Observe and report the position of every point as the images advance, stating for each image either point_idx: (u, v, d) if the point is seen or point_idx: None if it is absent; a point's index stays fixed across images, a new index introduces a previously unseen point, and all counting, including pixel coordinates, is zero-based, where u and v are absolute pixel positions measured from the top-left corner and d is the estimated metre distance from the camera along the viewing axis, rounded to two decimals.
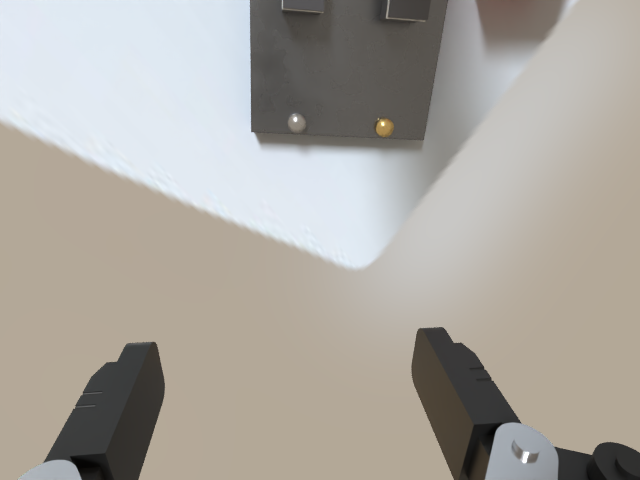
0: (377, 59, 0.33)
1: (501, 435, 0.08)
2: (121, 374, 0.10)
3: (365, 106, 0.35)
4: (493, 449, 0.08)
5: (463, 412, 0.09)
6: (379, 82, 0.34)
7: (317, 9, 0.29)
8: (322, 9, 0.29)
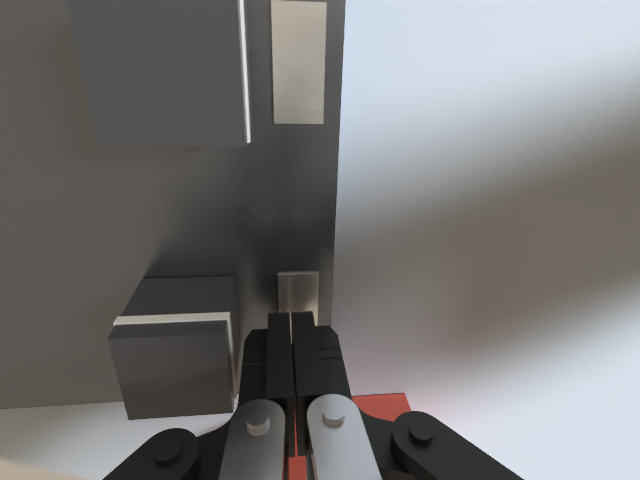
0: (76, 285, 0.13)
1: (311, 416, 0.09)
2: (276, 337, 0.11)
3: None
4: (311, 435, 0.08)
5: (296, 386, 0.10)
6: (20, 298, 0.13)
7: (96, 122, 0.08)
8: (102, 141, 0.08)
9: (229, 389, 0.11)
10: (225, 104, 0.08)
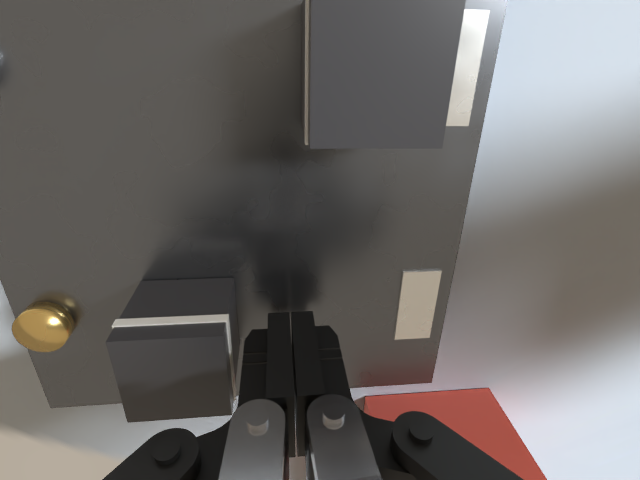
0: None
1: (311, 416, 0.09)
2: (276, 337, 0.11)
3: (88, 270, 0.12)
4: (311, 435, 0.08)
5: (296, 386, 0.10)
6: None
7: (312, 126, 0.08)
8: (313, 144, 0.08)
9: (228, 391, 0.11)
10: (432, 109, 0.08)
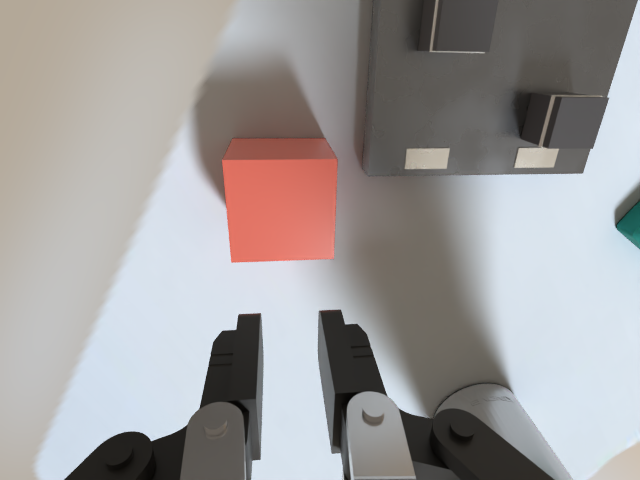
0: None
1: (351, 411, 0.09)
2: (244, 338, 0.11)
3: None
4: (349, 428, 0.08)
5: (332, 383, 0.10)
6: None
7: (569, 98, 0.23)
8: (563, 99, 0.23)
9: (453, 50, 0.21)
10: (562, 142, 0.24)
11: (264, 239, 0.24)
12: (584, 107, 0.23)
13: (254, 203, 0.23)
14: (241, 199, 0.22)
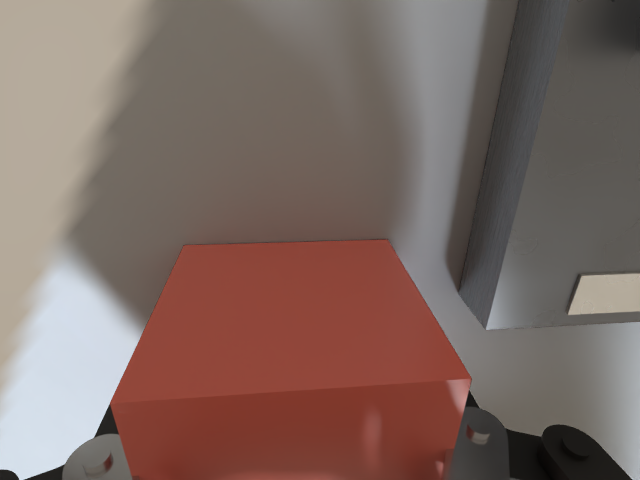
0: None
1: None
2: None
3: None
4: None
5: None
6: None
7: None
8: None
9: None
10: None
11: None
12: None
13: None
14: None
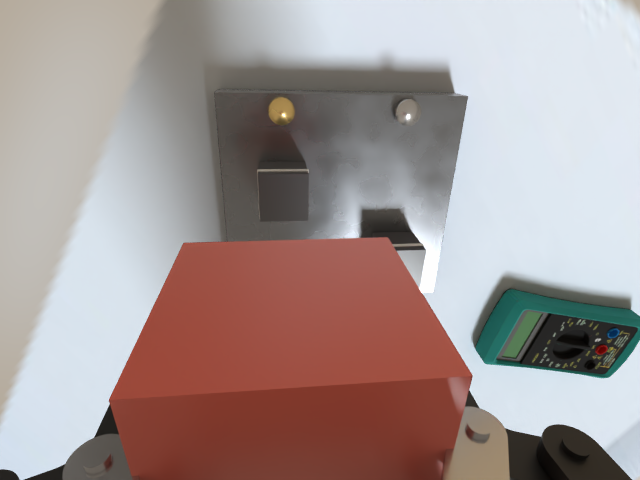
0: None
1: None
2: None
3: (311, 137, 0.25)
4: None
5: None
6: None
7: None
8: None
9: None
10: None
11: None
12: (405, 257, 0.26)
13: None
14: None
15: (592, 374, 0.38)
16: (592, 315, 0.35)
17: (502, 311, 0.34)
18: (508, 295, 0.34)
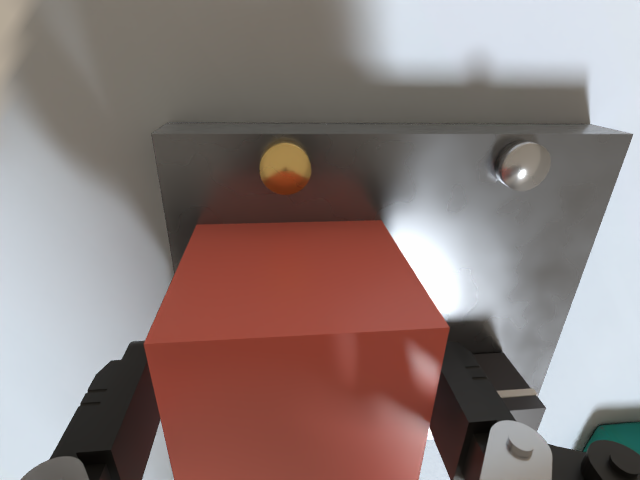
0: None
1: (495, 432, 0.08)
2: (125, 372, 0.10)
3: (340, 211, 0.14)
4: (488, 447, 0.08)
5: (458, 410, 0.09)
6: None
7: None
8: None
9: None
10: None
11: None
12: None
13: (235, 426, 0.09)
14: (201, 420, 0.09)
15: None
16: None
17: None
18: (603, 438, 0.23)
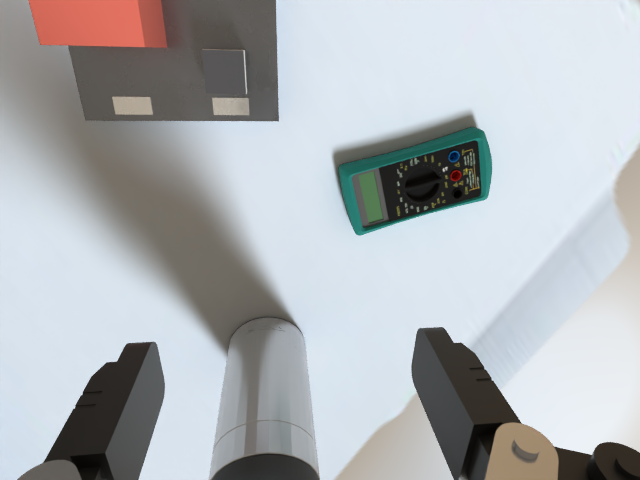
0: None
1: (500, 435, 0.08)
2: (121, 374, 0.10)
3: None
4: (493, 449, 0.08)
5: (463, 412, 0.09)
6: None
7: (208, 50, 0.29)
8: (203, 51, 0.28)
9: None
10: (216, 88, 0.30)
11: (68, 18, 0.24)
12: (224, 58, 0.29)
13: None
14: None
15: (467, 200, 0.39)
16: (420, 151, 0.37)
17: (342, 186, 0.38)
18: (339, 170, 0.38)
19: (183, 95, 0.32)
